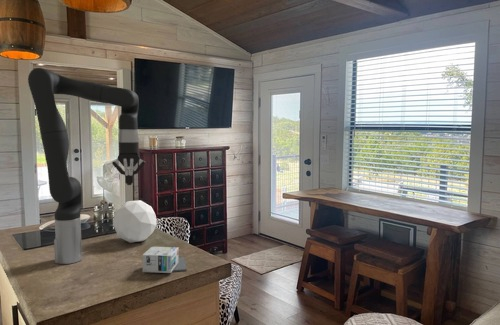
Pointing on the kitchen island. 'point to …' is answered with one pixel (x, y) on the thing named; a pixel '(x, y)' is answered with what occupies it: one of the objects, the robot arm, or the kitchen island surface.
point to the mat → (179, 265)
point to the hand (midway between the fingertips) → (129, 184)
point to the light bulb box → (160, 259)
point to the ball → (134, 221)
